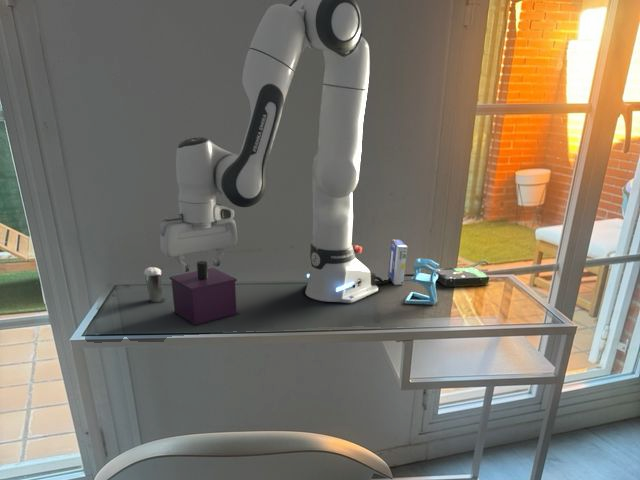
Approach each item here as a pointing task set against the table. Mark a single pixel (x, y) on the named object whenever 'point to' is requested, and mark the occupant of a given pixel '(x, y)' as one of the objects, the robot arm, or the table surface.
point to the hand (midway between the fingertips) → (201, 268)
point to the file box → (204, 302)
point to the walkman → (397, 262)
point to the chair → (424, 282)
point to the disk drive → (461, 276)
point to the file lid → (202, 278)
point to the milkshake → (154, 283)
